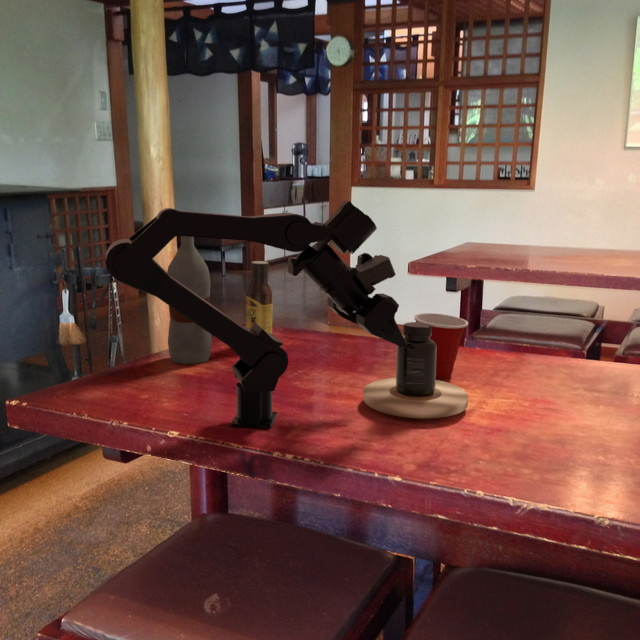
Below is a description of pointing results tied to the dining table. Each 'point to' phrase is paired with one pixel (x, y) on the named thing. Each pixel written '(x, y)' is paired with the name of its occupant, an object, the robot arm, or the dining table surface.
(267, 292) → the sauce bottle
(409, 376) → the supplement bottle
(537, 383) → the dining table surface
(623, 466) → the dining table surface
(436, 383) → the disc
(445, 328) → the plastic cup
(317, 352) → the dining table surface
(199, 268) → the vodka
